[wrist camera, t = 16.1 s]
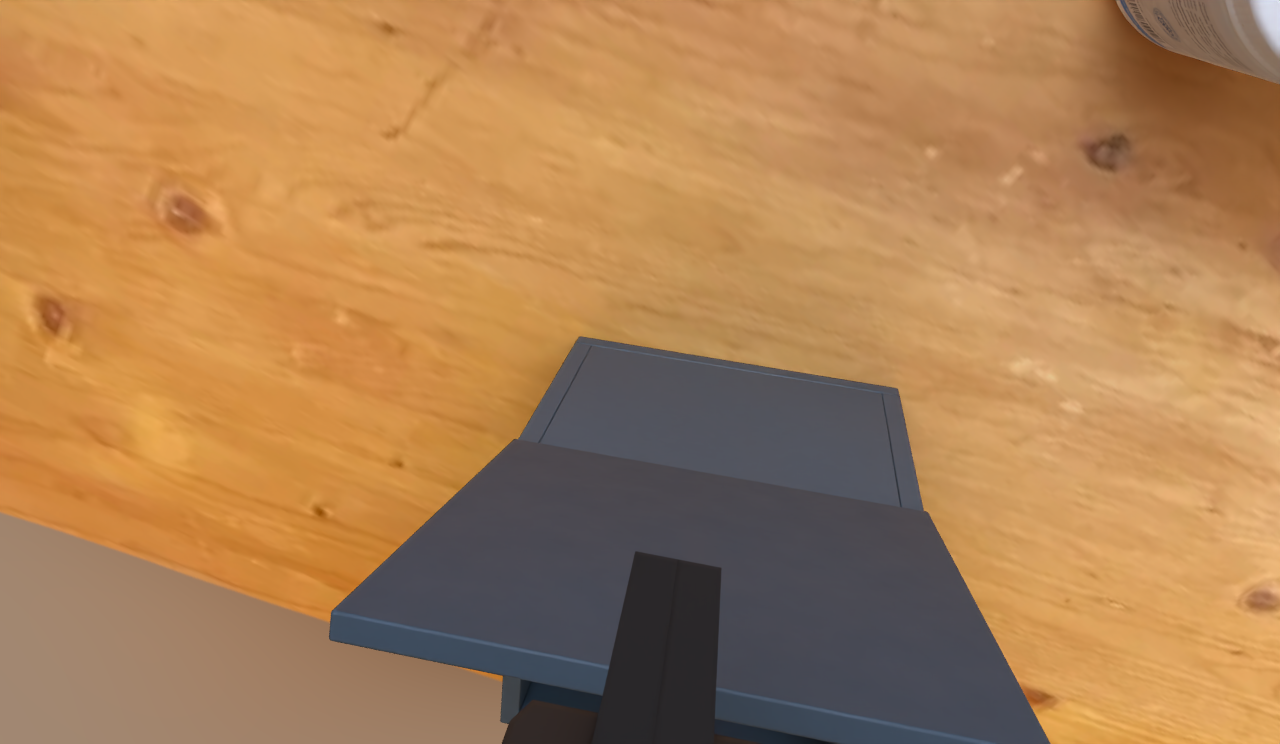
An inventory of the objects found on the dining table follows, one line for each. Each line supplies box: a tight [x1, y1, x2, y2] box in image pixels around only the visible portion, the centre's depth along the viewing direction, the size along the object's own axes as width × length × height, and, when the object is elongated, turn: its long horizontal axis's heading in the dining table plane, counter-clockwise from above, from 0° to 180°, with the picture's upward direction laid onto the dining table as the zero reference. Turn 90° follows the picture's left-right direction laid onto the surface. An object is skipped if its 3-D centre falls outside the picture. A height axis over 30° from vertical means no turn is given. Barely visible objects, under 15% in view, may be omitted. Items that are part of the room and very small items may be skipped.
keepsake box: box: [500, 337, 924, 744], centre depth 47 cm, size 16×17×12 cm
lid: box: [329, 439, 1050, 744], centre depth 29 cm, size 17×17×1 cm
